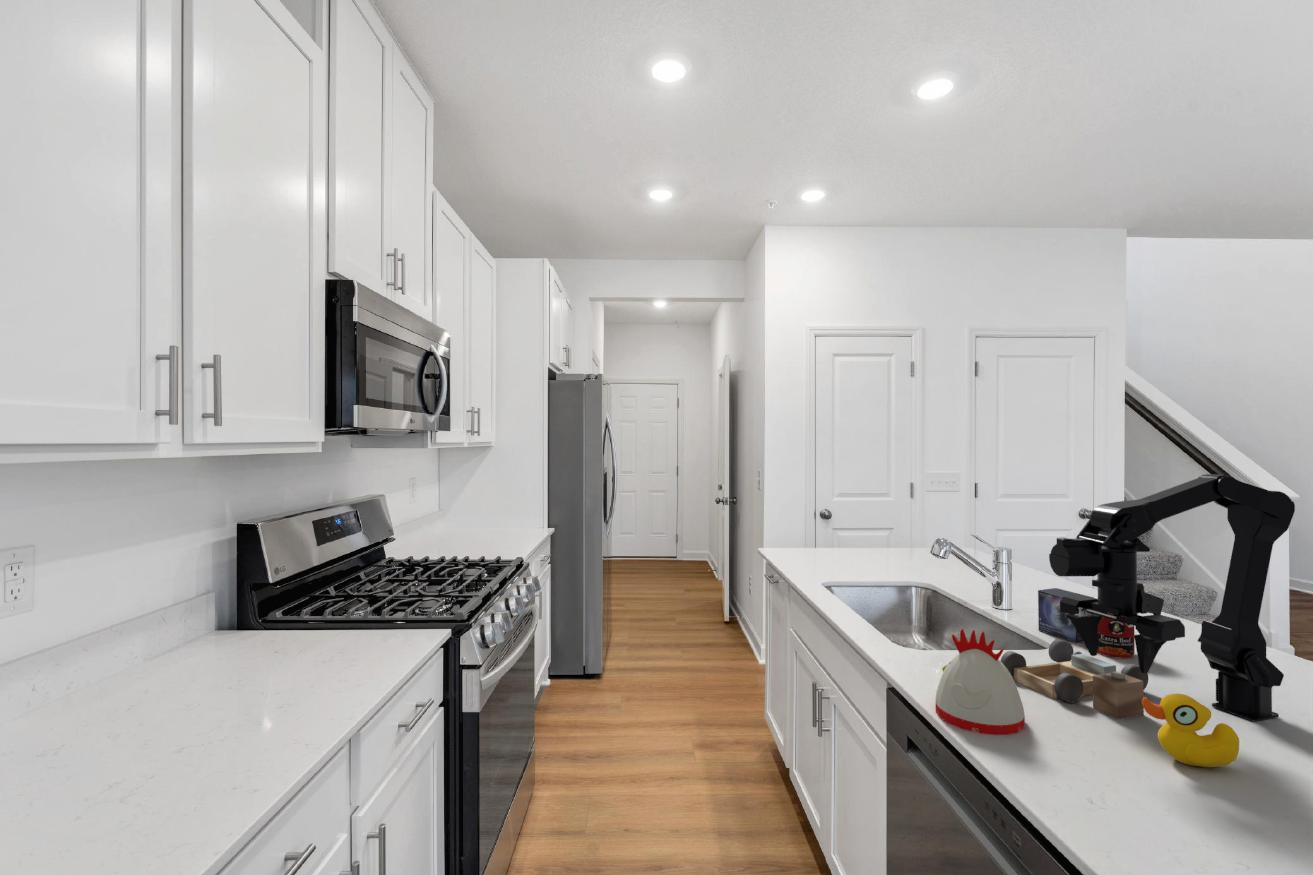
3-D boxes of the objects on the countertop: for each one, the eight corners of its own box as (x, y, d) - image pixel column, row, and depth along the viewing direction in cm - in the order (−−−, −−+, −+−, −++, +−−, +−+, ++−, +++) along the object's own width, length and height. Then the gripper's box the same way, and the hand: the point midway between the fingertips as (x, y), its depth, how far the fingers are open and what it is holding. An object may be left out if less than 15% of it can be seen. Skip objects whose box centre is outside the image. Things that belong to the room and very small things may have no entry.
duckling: (1147, 763, 93) (1147, 696, 93) (1137, 747, 98) (1136, 683, 98) (1246, 780, 88) (1246, 709, 88) (1230, 762, 93) (1229, 695, 93)
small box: (1036, 630, 158) (1035, 589, 158) (1055, 628, 160) (1055, 587, 160) (1075, 643, 148) (1075, 599, 148) (1095, 640, 150) (1095, 597, 150)
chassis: (1148, 692, 119) (1148, 665, 119) (1063, 705, 114) (1062, 677, 114) (1079, 666, 133) (1079, 642, 133) (1000, 676, 127) (999, 652, 128)
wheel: (1073, 663, 134) (1073, 640, 134) (1056, 665, 133) (1055, 642, 133) (1065, 660, 136) (1065, 638, 136) (1048, 662, 135) (1048, 640, 135)
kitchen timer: (947, 694, 119) (946, 615, 119) (1030, 714, 110) (1029, 629, 111) (925, 719, 108) (924, 633, 109) (1015, 743, 100) (1015, 649, 100)
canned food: (1095, 655, 140) (1095, 606, 140) (1090, 645, 147) (1090, 598, 147) (1138, 661, 136) (1137, 610, 136) (1130, 650, 143) (1130, 602, 143)
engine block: (1143, 715, 110) (1143, 676, 110) (1117, 719, 108) (1117, 680, 108) (1118, 704, 114) (1118, 667, 114) (1093, 708, 112) (1092, 671, 112)
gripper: (1208, 584, 104) (1209, 678, 104) (1101, 563, 122) (1102, 643, 122) (1158, 589, 101) (1160, 685, 101) (1056, 567, 119) (1057, 649, 119)
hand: (1118, 664), depth 111 cm, fingers open, 9 cm apart
